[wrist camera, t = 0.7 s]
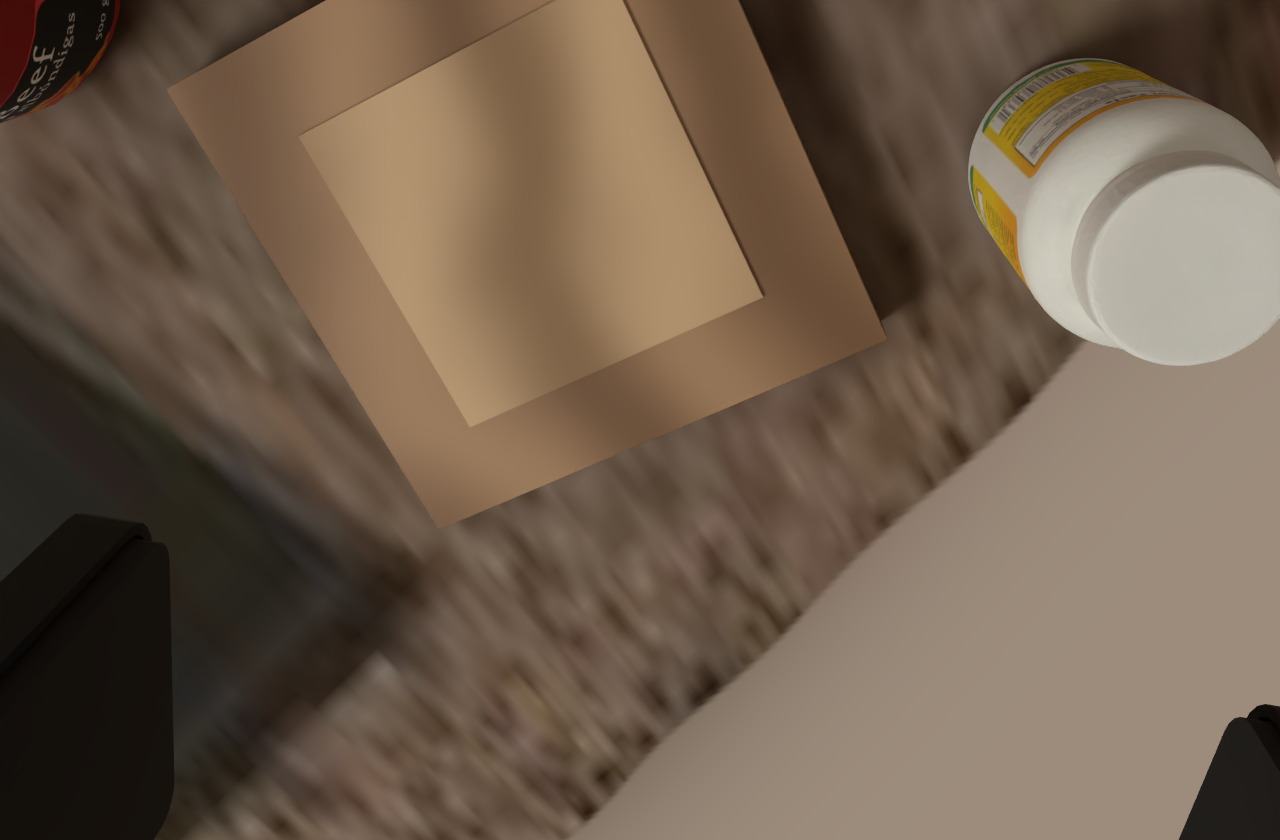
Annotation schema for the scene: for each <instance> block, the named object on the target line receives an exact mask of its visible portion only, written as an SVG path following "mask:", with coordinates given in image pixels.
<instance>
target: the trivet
mask: <svg viewBox="0 0 1280 840" xmlns="http://www.w3.org/2000/svg"><path fill="white" fill-rule="evenodd" d="M166 90H167V92H168V93H169V95H170V97H171V98H172V100H173V101H174V103H175V105H176V106H177V108H178V110H179V111H180V113H181V114H182V116H183V118H184V119H185V121H186V122H187V124H188V126H189V127H190V129H191V131H192V132H193V134H194V135H195V137H196V139H197V140H198V142H199V143H200V145H201V147H202V148H203V150H204V151H205V153H206V155H207V156H208V158H209V160H210V161H211V163H212V164H213V166H214V168H215V169H216V171H217V172H218V174H219V176H220V177H221V179H222V181H223V182H224V184H225V185H226V187H227V189H228V190H229V192H230V193H231V195H232V197H233V198H234V200H235V201H236V203H237V205H238V206H239V208H240V210H241V211H242V213H243V214H244V216H245V218H246V219H247V221H248V222H249V224H250V226H251V227H252V229H253V230H254V232H255V234H256V235H257V237H258V239H259V240H260V242H261V243H262V245H263V247H264V248H265V250H266V251H267V253H268V255H269V256H270V258H271V260H272V261H273V263H274V264H275V266H276V268H277V269H278V271H279V272H280V274H281V276H282V277H283V279H284V280H285V282H286V284H287V285H288V287H289V289H290V290H291V292H292V293H293V295H294V297H295V298H296V300H297V301H298V303H299V305H300V306H301V308H302V310H303V311H304V313H305V314H306V316H307V318H308V319H309V321H310V322H311V324H312V326H313V327H314V329H315V330H316V332H317V334H318V335H319V337H320V339H321V340H322V342H323V343H324V345H325V347H326V348H327V350H328V351H329V353H330V355H331V356H332V358H333V359H334V361H335V363H336V364H337V366H338V368H339V369H340V371H341V372H342V374H343V376H344V377H345V379H346V380H347V382H348V384H349V385H350V387H351V389H352V390H353V392H354V393H355V395H356V397H357V398H358V400H359V401H360V403H361V405H362V406H363V408H364V409H365V411H366V413H367V414H368V416H369V418H370V419H371V421H372V422H373V424H374V426H375V427H376V429H377V430H378V432H379V434H380V435H381V437H382V439H383V440H384V442H385V443H386V445H387V447H388V448H389V450H390V451H391V453H392V455H393V456H394V458H395V459H396V461H397V463H398V464H399V466H400V468H401V469H402V471H403V472H404V474H405V476H406V477H407V479H408V480H409V482H410V484H411V485H412V487H413V488H414V490H415V492H416V493H417V495H418V497H419V498H420V500H421V501H422V503H423V505H424V506H425V508H426V509H427V511H428V513H429V514H430V516H431V518H432V519H433V521H434V522H435V524H436V526H437V527H438V529H441V528H444V527H446V526H449V525H451V524H453V523H456V522H458V521H460V520H463V519H465V518H467V517H470V516H472V515H475V514H477V513H479V512H482V511H484V510H486V509H489V508H491V507H493V506H496V505H498V504H501V503H503V502H505V501H508V500H510V499H512V498H515V497H517V496H519V495H522V494H524V493H527V492H529V491H531V490H534V489H536V488H538V487H541V486H543V485H545V484H548V483H550V482H553V481H555V480H557V479H560V478H562V477H564V476H567V475H569V474H571V473H574V472H576V471H579V470H581V469H583V468H586V467H588V466H590V465H593V464H595V463H597V462H600V461H602V460H605V459H607V458H609V457H612V456H614V455H616V454H619V453H621V452H623V451H626V450H628V449H631V448H633V447H635V446H638V445H640V444H642V443H645V442H647V441H649V440H652V439H654V438H657V437H659V436H661V435H664V434H666V433H668V432H671V431H673V430H675V429H678V428H680V427H683V426H685V425H687V424H690V423H692V422H694V421H697V420H699V419H701V418H704V417H706V416H709V415H711V414H713V413H716V412H718V411H720V410H723V409H725V408H727V407H730V406H732V405H735V404H737V403H739V402H742V401H744V400H746V399H749V398H751V397H753V396H756V395H758V394H761V393H763V392H765V391H768V390H770V389H772V388H775V387H777V386H779V385H782V384H784V383H787V382H789V381H791V380H794V379H796V378H798V377H801V376H803V375H805V374H808V373H810V372H813V371H815V370H817V369H820V368H822V367H824V366H827V365H829V364H831V363H834V362H836V361H839V360H841V359H843V358H846V357H848V356H850V355H853V354H855V353H857V352H860V351H862V350H865V349H867V348H869V347H872V346H874V345H876V344H879V343H881V342H883V341H886V340H888V339H887V337H886V334H885V331H884V328H883V325H882V322H881V320H880V317H879V315H878V313H877V311H876V308H875V306H874V304H873V302H872V299H871V297H870V295H869V292H868V290H867V288H866V286H865V283H864V281H863V279H862V277H861V274H860V272H859V270H858V267H857V265H856V263H855V261H854V258H853V256H852V254H851V251H850V249H849V247H848V245H847V242H846V240H845V238H844V236H843V233H842V231H841V229H840V226H839V224H838V222H837V220H836V217H835V215H834V213H833V211H832V208H831V206H830V204H829V201H828V199H827V197H826V195H825V192H824V190H823V188H822V186H821V183H820V181H819V179H818V176H817V174H816V172H815V170H814V167H813V165H812V163H811V160H810V158H809V156H808V154H807V151H806V149H805V147H804V145H803V142H802V140H801V138H800V135H799V133H798V131H797V129H796V126H795V124H794V122H793V120H792V117H791V115H790V113H789V110H788V108H787V106H786V104H785V101H784V99H783V97H782V95H781V92H780V90H779V88H778V85H777V83H776V81H775V79H774V76H773V74H772V72H771V69H770V67H769V65H768V63H767V60H766V58H765V56H764V54H763V51H762V49H761V47H760V44H759V42H758V40H757V38H756V35H755V33H754V31H753V29H752V26H751V24H750V22H749V19H748V17H747V15H746V13H745V10H744V8H743V6H742V4H741V1H740V0H326V1H324V2H322V3H320V4H318V5H317V6H315V7H313V8H311V9H309V10H308V11H306V12H304V13H302V14H300V15H299V16H297V17H295V18H293V19H291V20H290V21H288V22H286V23H284V24H283V25H281V26H279V27H277V28H275V29H274V30H272V31H270V32H268V33H266V34H265V35H263V36H261V37H259V38H257V39H256V40H254V41H252V42H250V43H248V44H247V45H245V46H243V47H241V48H240V49H238V50H236V51H234V52H232V53H231V54H229V55H227V56H225V57H223V58H222V59H220V60H218V61H216V62H214V63H213V64H211V65H209V66H207V67H206V68H204V69H202V70H200V71H198V72H197V73H195V74H193V75H191V76H189V77H188V78H186V79H184V80H182V81H180V82H179V83H177V84H175V85H173V86H171V87H170V88H168V89H166Z"/></svg>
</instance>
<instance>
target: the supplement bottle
mask: <svg viewBox="0 0 1280 840" xmlns="http://www.w3.org/2000/svg"><path fill="white" fill-rule="evenodd" d="M968 180H969V188H970V193H971V197H972V200H973V204H974V206H975V209H976V211H977V213H978V215H979V217H980V219H981V221H982V223H983V224H984V226H985V228H986V229H987V230H988V232H989V233H990V234H991V236H992V237H993V239H994V240H995V242H996V243H997V245H998V246H999V248H1000V249H1001V251H1002V252H1003V253H1004V255H1005V256H1006V258H1007V259H1008V260H1009V262H1010V263H1011V264H1012V266H1013V267H1014V269H1015V270H1016V272H1017V273H1018V274H1019V276H1020V277H1021V278H1022V280H1023V281H1024V283H1025V284H1026V286H1027V287H1028V289H1029V290H1030V291H1031V293H1032V294H1033V296H1034V297H1035V299H1036V300H1037V301H1038V302H1039V304H1040V305H1041V306H1042V307H1043V309H1044V310H1045V311H1046V312H1047V313H1048V314H1049V315H1050V316H1051V317H1052V318H1053V319H1054V320H1055V321H1057V322H1058V323H1059V324H1060V325H1062V326H1063V327H1064V328H1066V329H1067V330H1069V331H1071V332H1072V333H1074V334H1076V335H1078V336H1080V337H1082V338H1084V339H1086V340H1089V341H1091V342H1094V343H1097V344H1101V345H1105V346H1110V347H1116V348H1122V349H1123V350H1125V351H1127V352H1129V353H1130V354H1132V355H1134V356H1137V357H1139V358H1141V359H1144V360H1147V361H1150V362H1153V363H1158V364H1163V365H1177V366H1188V365H1195V364H1202V363H1207V362H1212V361H1216V360H1219V359H1222V358H1225V357H1227V356H1230V355H1232V354H1234V353H1236V352H1238V351H1240V350H1242V349H1244V348H1245V347H1247V346H1249V345H1250V344H1252V343H1253V342H1255V341H1256V340H1257V339H1259V338H1260V337H1261V336H1262V335H1264V334H1265V333H1266V332H1267V331H1268V330H1269V329H1270V328H1271V327H1272V326H1273V325H1274V324H1275V323H1276V322H1277V321H1278V319H1280V178H1279V175H1278V172H1277V169H1276V167H1275V164H1274V162H1273V160H1272V158H1271V156H1270V155H1269V153H1268V151H1267V150H1266V148H1265V147H1264V145H1263V144H1262V143H1261V141H1260V140H1259V139H1258V138H1257V137H1256V136H1255V135H1254V133H1253V132H1252V131H1251V130H1249V129H1248V128H1247V127H1246V126H1245V125H1244V124H1242V123H1241V122H1240V121H1239V120H1237V119H1236V118H1234V117H1233V116H1231V115H1229V114H1228V113H1226V112H1224V111H1222V110H1220V109H1218V108H1216V107H1214V106H1212V105H1210V104H1208V103H1206V102H1204V101H1202V100H1200V99H1198V98H1195V97H1193V96H1191V95H1189V94H1187V93H1185V92H1183V91H1180V90H1178V89H1176V88H1173V87H1171V86H1169V85H1167V84H1165V83H1163V82H1161V81H1159V80H1157V79H1154V78H1152V77H1150V76H1148V75H1146V74H1145V73H1143V72H1141V71H1139V70H1137V69H1134V68H1132V67H1129V66H1126V65H1124V64H1121V63H1118V62H1114V61H1110V60H1105V59H1096V58H1080V59H1070V60H1065V61H1060V62H1056V63H1053V64H1050V65H1047V66H1044V67H1042V68H1040V69H1038V70H1035V71H1033V72H1031V73H1030V74H1028V75H1026V76H1025V77H1023V78H1021V79H1020V80H1019V81H1017V82H1016V83H1014V84H1013V85H1012V86H1010V87H1009V88H1008V89H1007V90H1006V91H1005V92H1004V93H1003V94H1002V95H1001V96H1000V97H999V98H998V99H997V100H996V101H995V102H994V104H993V105H992V106H991V108H990V109H989V110H988V112H987V113H986V115H985V117H984V118H983V120H982V122H981V124H980V126H979V128H978V130H977V132H976V135H975V138H974V140H973V143H972V147H971V151H970V157H969V167H968Z"/></svg>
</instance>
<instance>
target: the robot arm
mask: <svg viewBox="0 0 1280 840" xmlns="http://www.w3.org/2000/svg"><path fill="white" fill-rule="evenodd" d="M173 791H174V746H173V701H172V656H171V611H170V566H169V553H168V550H167V547H166V546H165V545H164V544H163V543H159V542H153V541H152V539H151V534H150V532H149V529H148V527H147V526H146V525H144V524H143V523H139V522H133V521H127V520H120V519H114V518H108V517H102V516H96V515H89V514H83V513H82V514H75V515H73V516H72V517H70V518H69V519H67V520H66V521H65V522H64V523H63V524H62V525H61V526H60V527H59V528H58V529H57V530H56V531H54V532H53V533H52V534H51V535H50V536H49V537H48V538H47V539H46V540H45V541H44V542H43V543H42V544H41V545H40V546H38V547H37V548H36V549H35V550H34V551H33V552H32V553H31V554H30V555H29V556H28V557H27V558H26V559H25V560H24V561H22V562H21V563H20V564H19V565H18V566H17V567H16V568H15V569H14V570H13V571H12V572H11V573H10V574H9V575H8V576H6V577H5V578H4V579H3V580H2V581H1V582H0V840H154V839H155V837H156V835H157V834H158V832H159V830H160V829H161V827H162V825H163V823H164V821H165V819H166V816H167V814H168V811H169V808H170V805H171V801H172V796H173ZM1179 840H1280V706H1273V705H1267V704H1264V705H1260V706H1257V707H1256V708H1255V709H1254V710H1252V711H1251V712H1250V713H1249V715H1248V717H1247V718H1243V717H1239V718H1235V719H1233V720H1232V721H1231V722H1230V723H1229V724H1228V726H1227V728H1226V730H1225V731H1224V734H1223V736H1222V739H1221V741H1220V743H1219V746H1218V748H1217V751H1216V753H1215V755H1214V757H1213V760H1212V762H1211V765H1210V767H1209V769H1208V772H1207V774H1206V777H1205V779H1204V781H1203V784H1202V786H1201V788H1200V791H1199V793H1198V795H1197V798H1196V800H1195V803H1194V805H1193V808H1192V810H1191V812H1190V814H1189V817H1188V819H1187V821H1186V824H1185V826H1184V829H1183V831H1182V833H1181V836H1180V838H1179Z"/></svg>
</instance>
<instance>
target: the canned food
mask: <svg viewBox="0 0 1280 840" xmlns="http://www.w3.org/2000/svg"><path fill="white" fill-rule="evenodd" d="M120 3H121V0H0V123H2V122H5V121H8V120H11V119H14V118H17V117H20V116H23V115H26V114H30V113H32V112H35V111H38V110H40V109H43V108H46V107H48V106H51V105H54V104H56V103H57V102H59V101H60V100H61V99H63V98H64V97H66V96H67V95H69V94H70V93H72V92H73V91H74V90H76V89H77V88H78V87H79V85H80V84H81V83H82V82H83V81H84V80H85V79H86V77H87V76H88V75H89V74H90V73H91V72H92V71H93V69H94V68H95V66H96V65H97V64H98V62H99V61H100V59H101V58H102V56H103V54H104V52H105V50H106V48H107V46H108V44H109V42H110V41H111V39H112V37H113V33H114V30H115V26H116V23H117V19H118V16H119V12H120Z"/></svg>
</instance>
